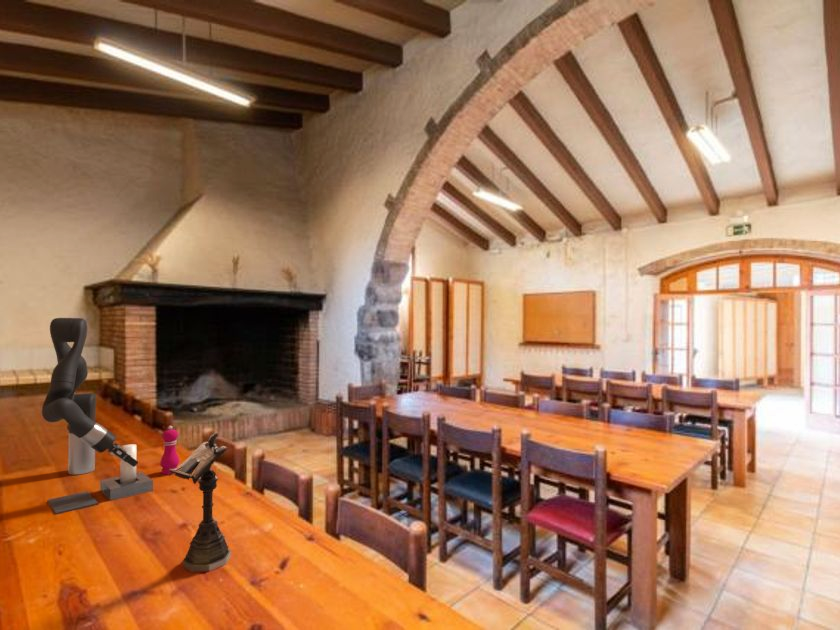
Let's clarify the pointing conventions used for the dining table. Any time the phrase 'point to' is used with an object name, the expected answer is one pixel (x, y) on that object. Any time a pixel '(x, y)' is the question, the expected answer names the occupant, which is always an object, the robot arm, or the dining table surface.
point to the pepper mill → (169, 451)
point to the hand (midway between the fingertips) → (133, 462)
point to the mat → (72, 502)
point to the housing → (126, 486)
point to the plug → (128, 465)
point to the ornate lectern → (205, 510)
